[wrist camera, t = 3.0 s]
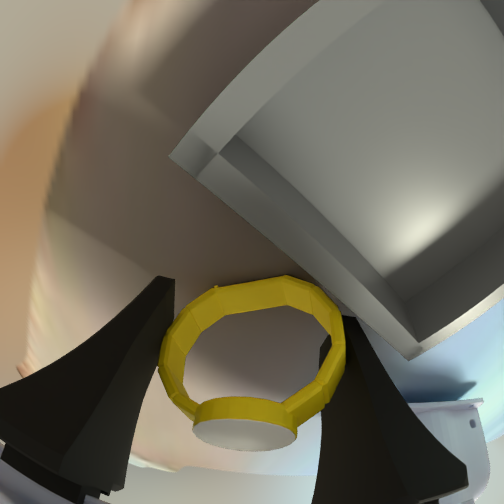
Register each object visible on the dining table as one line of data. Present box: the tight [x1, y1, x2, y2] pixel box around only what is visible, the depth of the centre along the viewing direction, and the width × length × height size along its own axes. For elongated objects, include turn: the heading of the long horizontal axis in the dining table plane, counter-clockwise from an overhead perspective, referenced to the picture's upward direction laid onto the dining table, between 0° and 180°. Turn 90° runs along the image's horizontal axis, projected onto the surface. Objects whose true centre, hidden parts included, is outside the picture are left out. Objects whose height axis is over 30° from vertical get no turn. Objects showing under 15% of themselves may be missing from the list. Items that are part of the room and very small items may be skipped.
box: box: [168, 0, 504, 361], centre depth 6 cm, size 11×11×2 cm
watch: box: [157, 275, 346, 451], centre depth 9 cm, size 6×3×6 cm, turn 104°
